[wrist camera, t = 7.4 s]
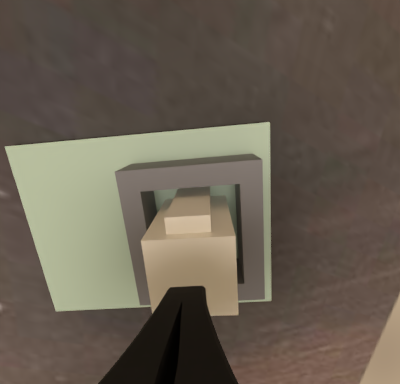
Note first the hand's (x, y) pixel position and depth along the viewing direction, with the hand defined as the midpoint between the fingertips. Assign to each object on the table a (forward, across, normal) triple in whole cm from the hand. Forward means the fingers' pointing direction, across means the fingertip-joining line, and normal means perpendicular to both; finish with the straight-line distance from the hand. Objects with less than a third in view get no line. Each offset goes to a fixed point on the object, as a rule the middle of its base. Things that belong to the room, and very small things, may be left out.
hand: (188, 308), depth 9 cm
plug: (+8, 0, 0) cm, 8 cm away
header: (+8, +3, 0) cm, 9 cm away
